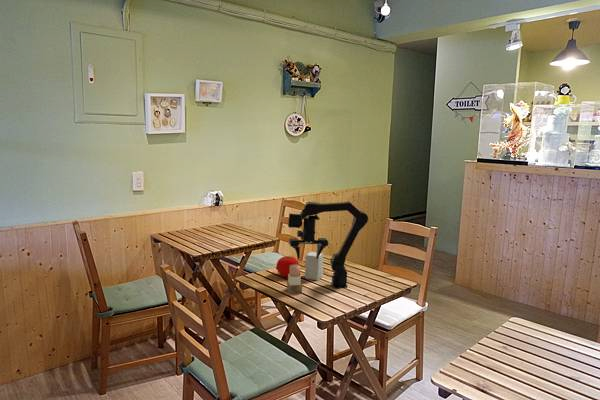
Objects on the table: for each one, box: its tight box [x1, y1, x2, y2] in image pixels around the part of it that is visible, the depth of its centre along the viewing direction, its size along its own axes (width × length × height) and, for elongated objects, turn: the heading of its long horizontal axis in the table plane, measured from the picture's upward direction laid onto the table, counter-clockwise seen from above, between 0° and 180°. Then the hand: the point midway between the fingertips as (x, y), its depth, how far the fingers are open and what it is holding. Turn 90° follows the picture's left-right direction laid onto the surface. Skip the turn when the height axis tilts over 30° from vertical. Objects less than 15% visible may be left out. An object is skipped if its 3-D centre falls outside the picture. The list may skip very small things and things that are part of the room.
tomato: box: [275, 255, 300, 278], centre depth 218 cm, size 11×12×10 cm
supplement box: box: [304, 251, 324, 281], centre depth 217 cm, size 7×7×13 cm
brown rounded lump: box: [290, 264, 301, 277], centre depth 196 cm, size 5×5×4 cm
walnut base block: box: [286, 280, 303, 295], centre depth 197 cm, size 6×6×4 cm
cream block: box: [287, 274, 302, 285], centre depth 197 cm, size 5×5×4 cm
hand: (307, 259), depth 205 cm, fingers open, 9 cm apart
